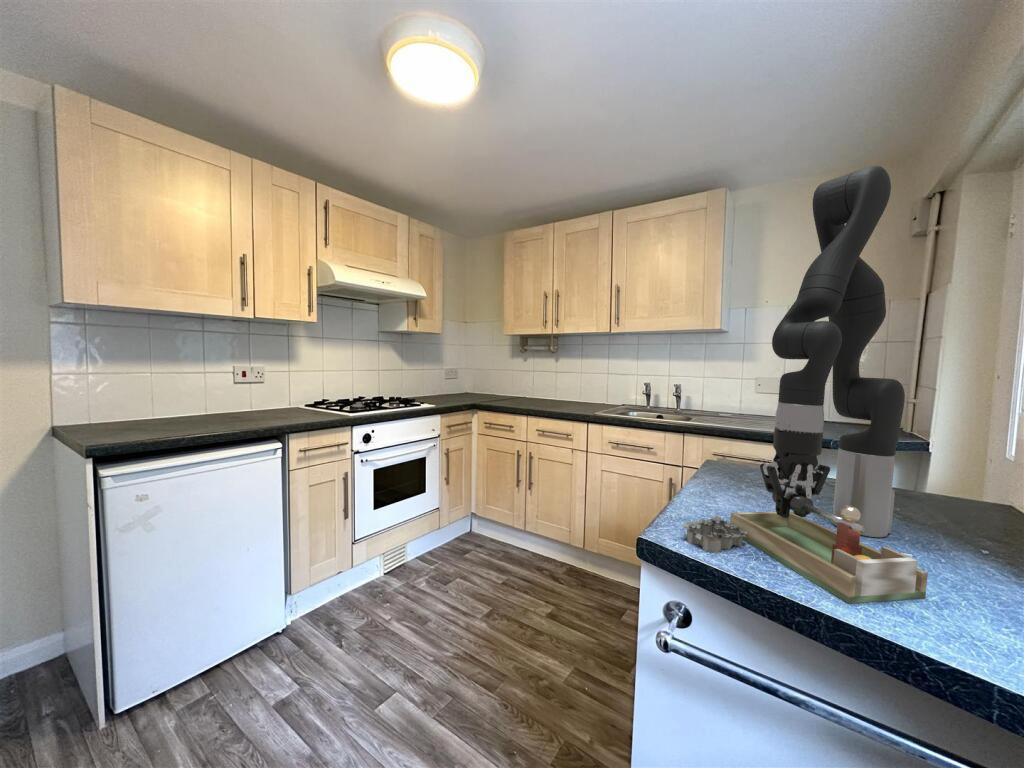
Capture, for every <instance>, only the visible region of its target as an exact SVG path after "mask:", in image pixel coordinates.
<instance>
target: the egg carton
mask: <svg viewBox="0 0 1024 768" xmlns="http://www.w3.org/2000/svg"><path fill="white" fill-rule="evenodd" d="M683 529H684V530H686V539H687V543H689V544H690V545H699V546H701V547H702V550H704V551H706V552H711V551H712V553H716V554H719V553H721V550H722V549H725V550H728V551H729V550H731V549H732V546H736V547H743V541H744V540H743V536H745V537H746V533H747V531H744V532H743V531H741V530H740V528H739V526H734V525H733V524H731V523H730V521H728V520H724V519H722V518H721V517H720V516H718V515H715V516H714V517H711V518H706V519H704V518H702V519H700V520H696V521H686V522H685V523H684V525H683Z"/></svg>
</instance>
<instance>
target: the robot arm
mask: <svg viewBox="0 0 1024 768" xmlns="http://www.w3.org/2000/svg"><path fill="white" fill-rule="evenodd" d="M891 193H892V183H891V178H890V175H889V173H888V171H887V170H886V169H885V167H883V166H881V165H870V166H867V167H862V168H860V169H857V170H854V171H852V172H850V173H849V172H848V173H846V174H843V175H841V176H838V177H834V178H832V179H829V180H826V181H824V182H822V183H820V184H819V185H818V186H817V187H816V189H815V190H814V192H813V195H812V196H813V197H812V214H813V220H814V224H815V225H814V226H815V230H816V234H817V240H818V243H819V247H820V253H819V255H817V257H816V258H815V259H814V260H813V261H812V263H811V264H810V265H809V266H808V268H807V270H806V272H805V274H804V277H803V278H802V279H803V280H802V282H801V285H800V287H799V291H798V293H797V297H796V299H795V301H794V302H793V304H792V305H791V306H790V308H789V309H788V310H787V312H786V313H785V315H784V316H783V318H782V319H781V320H780V322H779V324H777V326H776V328H775V330H774V332H773V335H772V338H771V346H772V347H771V348H772V351H773V352H774V354H775V355H776V356H777V357H778V358H780V359H783V360H807V362H806V363H805V366H804V367H803V368H802V369H800V370H797V371H796V370H795V371H790V372H786V373H784V374H782V375H781V377H780V381H779V388H778V401H777V407H776V410H775V419H774V430H773V431H774V432H773V443H772V448H773V449H774V451H775V455H774V457H773V458H772V459H773V460H772V461H771V462H769V463H760V465H759V469H760V472H761V476H762V479H763V482H764V486H765V489H766V492H768V493H771V494H772V495H773V494H775V495H776V503H775V512H777V514H778V515H779V516H781V517H784V518H788V517H789V513H790V512H791V509H790V501H791V499H789V498H790V495H791V492H793V491H792V490H793V489H795V490H794V493H796V494H798V495H801V496H803V497H806V498H809V499H811V498H812V496H818V495H820V494H821V492H822V489H823V487H824V485H825V483H826V481H827V478H828V476H829V474H830V471H831V467H830V466H829V465H825V464H821V463H819V460H818V456H820V455H821V454H822V451H823V450H822V449H823V439H824V427H825V412H824V411H825V410H824V405H825V404H824V403H825V396H826V395H825V393H826V392H825V391H826V385H827V381H828V378H829V376H830V374H831V370H832V402H833V406H834V409H835V411H836V413H837V414H838V415H839V416H841V417H844V418H848V419H854V420H855V419H857V420H862V421H863V420H864V421H870V423H869V427H868V428H867V429H865V430H863V431H861V432H857V433H856V432H855V433H848V434H843V435H841V436H840V437H839V440H838V451H837V463H836V474H835V475H836V476H835V486H834V497H833V508H832V514H834V515H837V516H839V517H841V515H840V510H841V508H842V507H844V506H853V507H855V508H857V509H858V510H859V512H860V515H861V516H860V519H859V520H858V521H856V522H854V523H857V524H859V525H862V526H864V528H865V530H864V532H863V533H860V536H863V537H864V536H865V537H869V538H870V537H871V538H886V537H887V536H888V533H891V534H892V526H893V516H894V505H895V494H896V491H895V489H893V485H894V484H893V480H894V472H895V461H896V451H897V450H896V449H897V446H898V442H899V440H900V439H899V438H900V432H901V426H902V418H903V413H904V408H905V403H906V402H905V399H906V398H905V396H906V394H905V389H904V386H903V384H902V383H901V382H900V381H899V380H897V379H894V378H884V377H863V376H861V375H860V362H861V357H862V354H863V353H864V350H865V348H866V347H867V346H868V344H869V343H870V341H871V340H872V339H873V338H874V336H875V335H876V334H877V332H878V331H879V330H880V328H881V326H882V324H883V323H884V320H885V319H886V316H887V315H886V314H887V305H886V292H885V284H884V281H883V279H882V278H881V277H880V275H879V274H878V273H877V272H876V271H875V270H874V268H872V267H871V265H869V264H868V263H867V261H865V260H864V259H863V258H862V257H861V254H862V253H863V250H864V248H865V247H866V246H867V244H868V242H869V239H870V238H871V236H872V234H873V232H874V231H875V229H876V227H877V225H878V224H879V221H880V219H881V218H882V215H883V214H884V212H885V210H886V208H887V205H888V203H889V200H890V197H891ZM825 318H828V320H821V319H825ZM818 320H819V321H818ZM814 483H815V484H814ZM813 486H814V487H813ZM782 489H784V491H783V490H782ZM792 511H793V510H792ZM792 513H794V514H795V515H797V516H800V517H803V518H806V517H807V515H802V514H800V513H798V512H795V511H793V512H792ZM831 523H832V525H834V526H836V527H837V525H838V523H835V522H833V521H831Z"/></svg>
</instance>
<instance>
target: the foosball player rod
mask: <svg viewBox="0 0 1024 768" xmlns="http://www.w3.org/2000/svg"><path fill="white" fill-rule="evenodd" d="M782 490H783V491H784V488H783V489H782ZM771 496H772V501H773V502H774V503H775V504H776V495H775V494H773V493H772V495H771ZM789 499H791V501H790V511H795V512H798V513H800V514H802V515H806V516H808V515H810V514H811V513H812V514H814V515H816V516H819V517H821V518H824V519H826V520H828V521H830V522H832V521H833V522H835V523H838V525H837V526H836V527H837V529H836V532H837V536H836V544H833V546H832V557H831V564H833V560H834V549H840V550H842V551H844V552H846V553H848V554H850V555H852V556H855V555H861V553H862V547H860V546H859V542H860V540H861V535H860V533H863V532H864V530H865V528H864V526H862V525H859V524H857V523H854V522H856V521H858V520H859V519H860V516H861V515H860V512H859V510H858V509H857V508H855V507H853V506H844V507H842V508H841V510H840V515H841V517H839V516H837V515H834V514H833V512H832V513H831V512H828V511H826V510H824V509H821V508H819V507H816V506H814V501H812V499H811V498H810V499H809V498H806V497H803V496H801V495H798V494H796V492H793V491H791V495H790V498H789Z"/></svg>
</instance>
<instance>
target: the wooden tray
mask: <svg viewBox="0 0 1024 768" xmlns="http://www.w3.org/2000/svg"><path fill="white" fill-rule="evenodd" d="M729 518H730V519H729V523H731V524H733V525H734V526H739V528H740V530H741V531H743V532H744V531H747V533H746V537H745V536H743V540H742V541H744V542H746V543H748V544H750V545H751V546H752V547H754V548H756V549H757V550H759V551H761V552H763V553H764V554H766V555H768V557H769V556H770V557H771V558H773V559H774V560H775V561H778V562H779V563H781V564H782V565H784V566H785V567H787V568H789V569H791V570H792V571H793V572H795V573H797V574H798V575H800V576H802V577H803V578H805V579H807V580H808V581H810V582H811V583H813V584H815V585H817V586H818V587H820V588H822V589H824V591H826V592H829V594H831V595H833V596H835V597H837V598H838V599H840V600H842V601H843V602H845V603H847V604H859V603H860V604H861V603H874V602H875V603H876V602H888V601H889V602H890V601H901V600H902V601H904V600H917V599H925V598H926V596H927V594H926V593H927V586H928V584H927V583H928V576H929V573H928V572H927V571H925V570H922V569H920V568H918V564H919V563H918V562H919V560H918V559H915V558H912V557H911V556H908V555H906V554H903V553H901V552H898V551H896V550H894V549H892V548H889V547H887V546H881V549H880V550H878V549H875V548H873V547H871V546H869V545H866V544H864V543H862V542H860V541H859V546H860V547H862V553H861V555H864V556H867V557H870V558H871V559H869V560H861V559H858V558H856V557H854V556H852V555H850V554H848V553H846V552H844V551H842V550H840V549H834V560H833V564H831V557H832V546H833V544H836V536H837V531H835V530H833V529H830V528H827V527H826V526H823V525H821V524H819V523H817V522H814V521H812V520H810V519H808V518H806V517H800V516H797V515H795V514H794V512H792V511H790V513H789V517H788V518H784V517H781V516H779V515H778V514H777V512H776V511H750V512H749V511H747V512H746V511H745V512H741V511H740V512H730V517H729Z"/></svg>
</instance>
